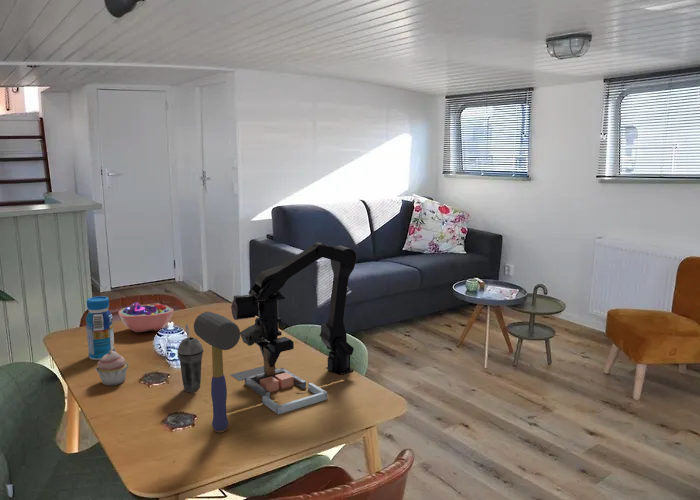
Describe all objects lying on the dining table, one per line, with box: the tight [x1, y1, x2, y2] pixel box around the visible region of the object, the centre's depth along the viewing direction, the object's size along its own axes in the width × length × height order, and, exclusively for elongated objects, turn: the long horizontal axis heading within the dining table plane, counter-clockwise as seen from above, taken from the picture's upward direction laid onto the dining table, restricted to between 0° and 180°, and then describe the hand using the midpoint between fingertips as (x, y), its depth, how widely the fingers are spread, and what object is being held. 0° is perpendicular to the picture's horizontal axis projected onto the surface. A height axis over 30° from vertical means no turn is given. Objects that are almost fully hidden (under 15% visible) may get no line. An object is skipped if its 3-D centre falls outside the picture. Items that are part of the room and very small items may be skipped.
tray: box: [261, 382, 329, 415], centre depth 164 cm, size 16×8×2 cm, turn 127°
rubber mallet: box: [193, 311, 241, 433], centre depth 145 cm, size 12×8×30 cm, turn 39°
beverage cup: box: [177, 324, 204, 393], centre depth 170 cm, size 7×7×20 cm
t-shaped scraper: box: [255, 345, 284, 385], centre depth 175 cm, size 9×2×11 cm, turn 127°
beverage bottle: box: [85, 295, 116, 361], centre depth 196 cm, size 8×8×20 cm
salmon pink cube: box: [275, 372, 295, 390], centre depth 174 cm, size 4×4×4 cm
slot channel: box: [244, 367, 307, 399], centre depth 173 cm, size 13×13×2 cm
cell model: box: [117, 301, 174, 333], centre depth 223 cm, size 17×20×11 cm
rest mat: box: [230, 365, 278, 382], centre depth 183 cm, size 14×6×1 cm, turn 127°
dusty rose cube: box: [260, 376, 280, 393], centre depth 171 cm, size 4×4×4 cm
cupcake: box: [95, 350, 130, 387], centre depth 176 cm, size 9×9×10 cm
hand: (269, 365), depth 175 cm, fingers closed on t-shaped scraper, 2 cm apart
